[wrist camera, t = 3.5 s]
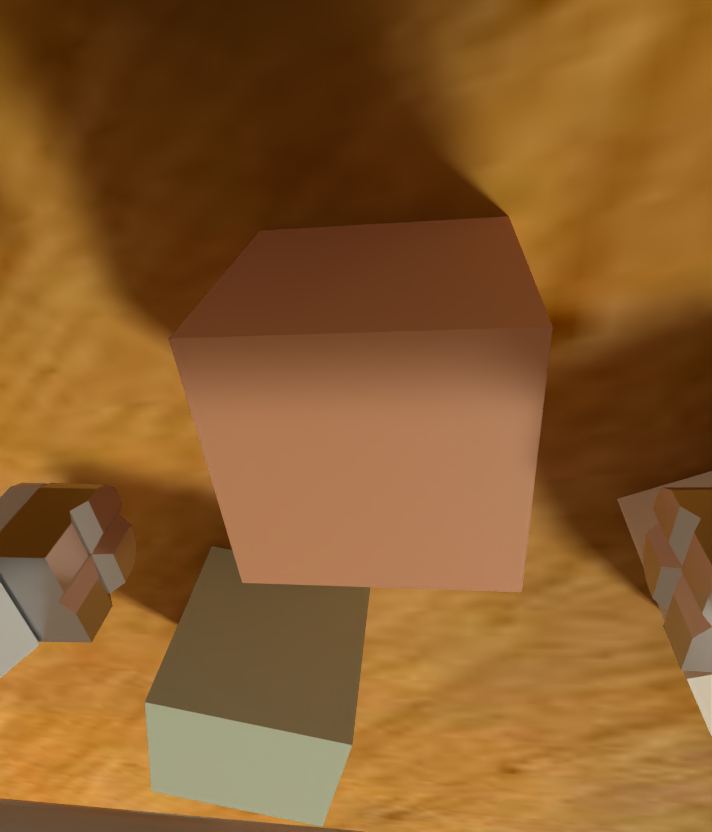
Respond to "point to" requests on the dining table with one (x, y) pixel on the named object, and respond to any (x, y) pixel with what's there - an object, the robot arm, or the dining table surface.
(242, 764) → the sage green cube
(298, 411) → the terracotta cube
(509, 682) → the dining table surface
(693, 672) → the off-white cube
